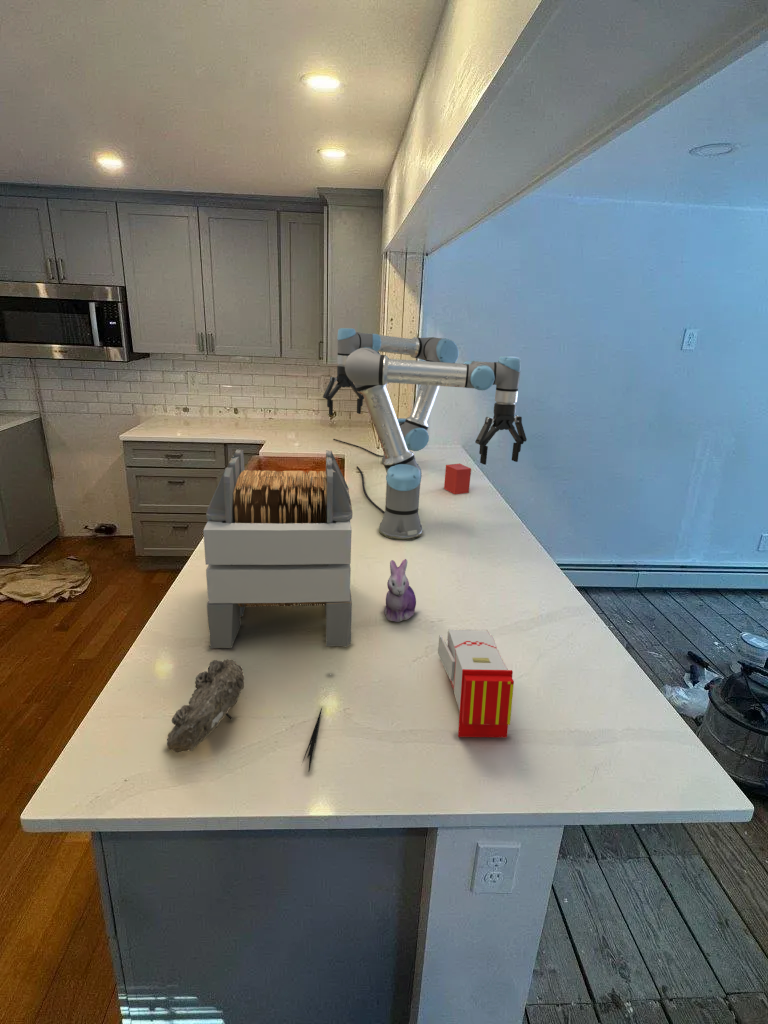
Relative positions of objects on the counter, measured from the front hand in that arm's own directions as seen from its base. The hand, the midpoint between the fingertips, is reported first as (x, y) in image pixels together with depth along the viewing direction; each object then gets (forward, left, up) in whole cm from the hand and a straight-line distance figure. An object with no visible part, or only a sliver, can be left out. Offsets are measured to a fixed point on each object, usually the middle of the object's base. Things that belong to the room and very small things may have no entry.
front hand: (498, 462), depth 203 cm
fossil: (+35, -126, -24) cm, 133 cm away
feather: (+48, -111, -24) cm, 123 cm away
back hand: (-81, -8, +5) cm, 82 cm away
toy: (+60, -81, -24) cm, 104 cm away
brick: (-37, +21, -24) cm, 49 cm away
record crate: (+9, -95, -24) cm, 98 cm away
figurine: (+28, -72, -24) cm, 81 cm away
